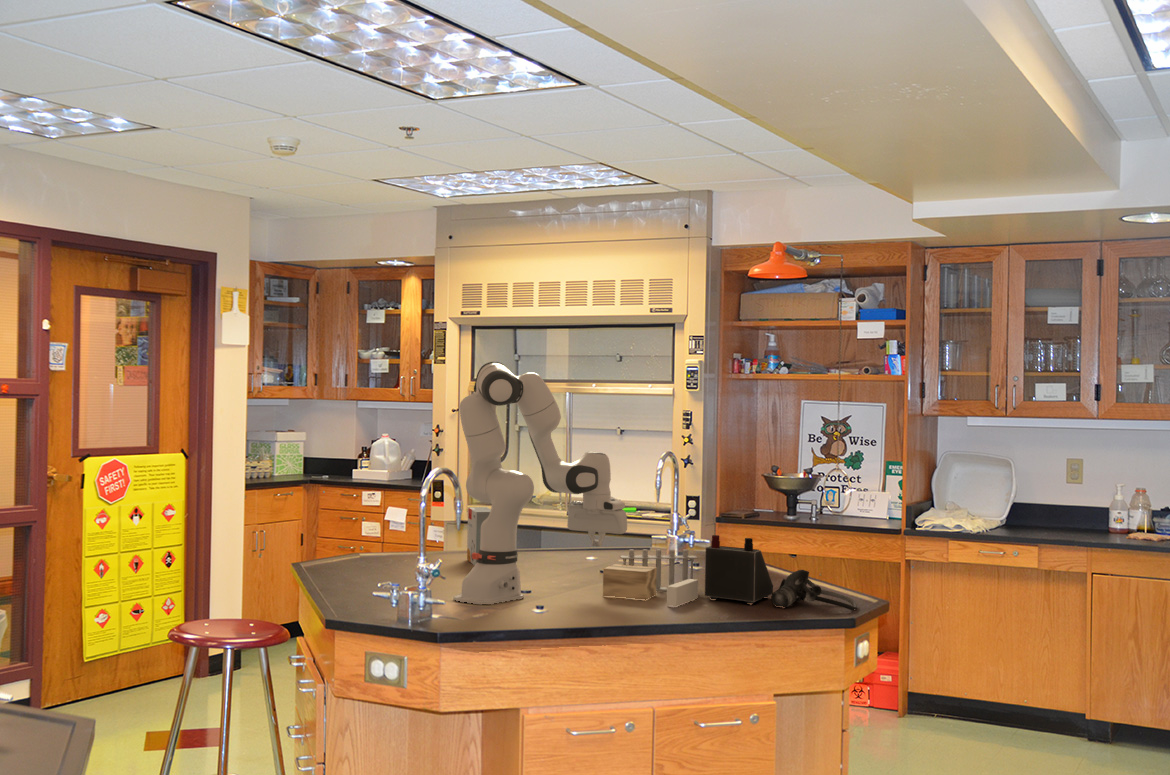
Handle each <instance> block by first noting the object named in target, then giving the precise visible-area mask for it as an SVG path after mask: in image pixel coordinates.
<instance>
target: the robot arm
mask: <svg viewBox="0 0 1170 775" xmlns="http://www.w3.org/2000/svg"><path fill="white" fill-rule="evenodd" d="M473 392H474V393H472V394H469V395H466V396H465V397H464V398H463V399H461V401H460V403H459V415H460V416H459V418H460V422H461V426H462V431H463V434H464V438H465V441H466V444H467V447H468V452H469V455H470V461H471V463H470V464H471V469H470V472H469V475H468V476H467V478H466V481H465V489H466V492H467V494H468V495H469V497H470V498H472V499H473V500H476V501H478V502H480V503H483V504H491V508H490V509H491V511H490V514H489V516H488V518H487V519H486V520H484V521H483V523H482V524H481V542H480V550H479V552H478V553H472V555H473V556H472V559H477V560H476V561H477V563H476V565H475V566H474V565H473V567H472V568H471V570H470V571H469V572H468V573H467V574H466V576H465V577H464V578H463V580H462V583H461V584H462V585H461V593H460V594H457V595H455V596H453V601H455V600H456V602H458V601H460V603H464V602H467V603H466V604H471V603H473V604H474V605H482V604H491V605H495V604H494V603H497V604H500V603H499V602H502V603H505V601H507V602H511V601H510V600H513V601H517V600H516V599H518V600H522V598H523V599H524V593H522V590H521V589H522V587H521V586H522V585H521V573H520V570H519V568H518V565H517V562H518V557H519V554H518V549H517V536H518V535H517V534H518V533H517V532H518V524H519V520H520V516H521V513H522V511H523V509H524V507H525V506H526V505H527V504H528V503H529V502H530V501H531V500H532V498H533V495H534V491H535V485H534V482H533V479H532V478H531V476H529V475H528V474H526V473H523V472H521V471H518V470H513V469H504V468H503V466H502V460H501V458H502V455H504V452H505V451H506V448H507V446H506V443H505V438H504V435H503V432H502V429H501V425H500V423H499V419H498V416H497V410H496V409H497V406H499V407H500V406H505V405H510V404H516V405H517V407H518V409H519V411H520V413H521V416H522V417H523V419H524V422H525V424H526V426H527V429H528V435H529V439H530V441H531V444H532V446H533V449H534V451H535V455H536V457H537V459H538V462H539V465H540V469H541V477H542V478H541V479H542V483H543V485H544V487H545V489H547V490H548V491H550V492H551V493H557V494H559V493H560V494H569V495H570V494H571V495H580V494H582V501H576V500H573V501H571V502H570V503H569V505H568V515H567V525H566V526H567V529H568V530H570V531H578V532H579V531H580V532H587V534H588V537H589V539H590V541H591V546H592V547H599V548H600V547H602V546H603V541H604V538H605V536H606V534H616V535H623V534H625V533H626V532H627V530H628V516H627V512H626V511H625V507H626V504H625V502H624V501H622V500H619V499H617V498H615V497H613V496H611V489H610V483H611V480H612V479H611V474H612V473H611V463H610V462H611V461H610V458H609V456H608V455H607V454H606V453H603V452H596V451H586V452H585V453H584V454H583V455H582V456H581V457H580V458H578V459H577V460H575V461H573V462H566V461H564V460H563V459H562V458H560V456H559V455H558V452H557V450H556V447H555V445H554V442H553V439H552V433H553V431H554V430H556V429H557V428H558V426H559V425H560V422H561V418H562V416H561V411H560V407H559V405H558V403H557V401H556V399H555V397H554V395H553V393H552V392H551V390H550V388H549V386H548V384H546V382H545V381H544V379H543V378H542V377H541V375H540V374H538V373H536V372H525V373H523V374H521V375H515V374H514V373H512V371H511V369H509V368H508V366H506V365H505V364H504V363H502V362H499V361H489V362H486V363H484V364H483V365H482V366H481V367H480V368H479V369H478V371H477V373H476V378H475V382H474V386H473ZM596 533H598V536H599V537H598V539H596V537H595V535H596ZM473 604H472V605H473Z"/></svg>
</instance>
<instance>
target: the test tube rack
mask: <svg viewBox="0 0 1170 775" xmlns="http://www.w3.org/2000/svg"><path fill="white" fill-rule="evenodd" d="M675 552H676V551H675V549H669V555H662V549H655V555H649V550H648V549H642V555H635V549H629V550H628V555H619V558H620V559H621V560H622V561H623V564H622V565H627V560H628V565H632V566H635V560H642V561H641V566H644V567H649V566H648V565H649V564H648V562H649V561H648V560H655V567H656V568H657V571H656V591H667V586H665V587H664V586H661V584H662V559H663V560H668V559H669V563H668V586H670V585H673V584H675V568H676V566H675V560H679V559H680V560H682V571H681V572H682V574H681V575H682V577H681V581H684V580H687V579H694V560H698V558H699V557H697V556H696V555H689V549H684V548H683V550H682V555H676V554H675ZM689 560H690V578H689V577H688V575H689Z"/></svg>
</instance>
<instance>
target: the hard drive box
mask: <svg viewBox="0 0 1170 775" xmlns="http://www.w3.org/2000/svg"><path fill="white" fill-rule="evenodd" d="M490 511H491V508H489V507H487V506H472V507H471V506H469V507H467V541H466V542H467V545H466V548H467V549H466V554H467V555H466V560H467V561H468V562H470V563H471V564H472V565H473V567H474V566H475V565H476V563H477V561H476V560H477V559H472V556H473V555H472V553H478V552H479V550H480V542H481V524H482V523H483V521H484V520H486V519H487V518H488V516H489V514H490Z"/></svg>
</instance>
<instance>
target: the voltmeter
mask: <svg viewBox="0 0 1170 775" xmlns="http://www.w3.org/2000/svg"><path fill="white" fill-rule="evenodd" d="M753 543H754V542H753V538H752V537H746V538H744V546H743V547H735V546H724V545H723V546H722V545H721V541H720V535H718V534H711V544H710V546H707V547H706V546H705V557H704V560H705V561H704V564H705V567H704V596H705V597H709V599H710V598H711V599H717V598H719V599H726V600H727V599H728V600H736V601H743V602H745V603H746V602H747V603H755V602H757V601H761V600H763V599H762V598H764V597H769V596H772V594H773V592H774V585H773V581H772V579H771V578H772V577H771V576H770V573H769V570H768V567H767V563H766V561H765V559H764V556H763V553H762V550H760V549H756V548H754V544H753ZM717 600H718V599H717Z"/></svg>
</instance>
